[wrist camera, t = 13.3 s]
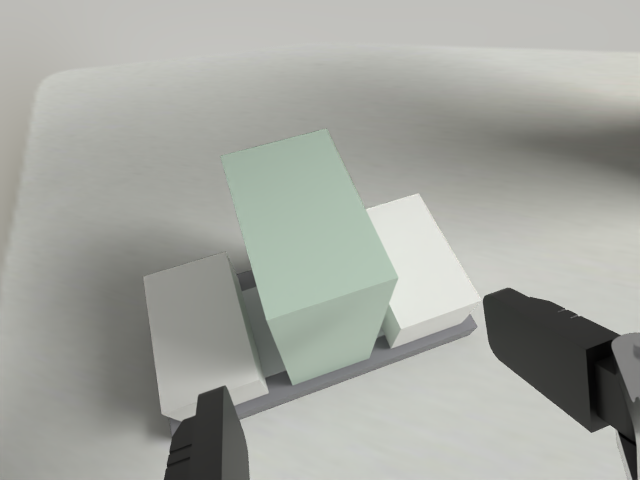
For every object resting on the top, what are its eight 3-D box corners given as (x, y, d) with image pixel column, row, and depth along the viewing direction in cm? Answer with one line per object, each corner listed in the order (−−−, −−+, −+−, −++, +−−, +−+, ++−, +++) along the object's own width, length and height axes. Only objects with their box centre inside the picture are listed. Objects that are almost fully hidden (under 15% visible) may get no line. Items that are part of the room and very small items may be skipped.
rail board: (412, 230, 32) (428, 183, 27) (469, 334, 28) (502, 302, 22) (161, 310, 29) (124, 274, 24) (181, 440, 25) (142, 432, 19)
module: (326, 250, 29) (325, 126, 19) (369, 358, 25) (398, 277, 15) (259, 270, 28) (219, 153, 18) (292, 385, 24) (266, 320, 14)
